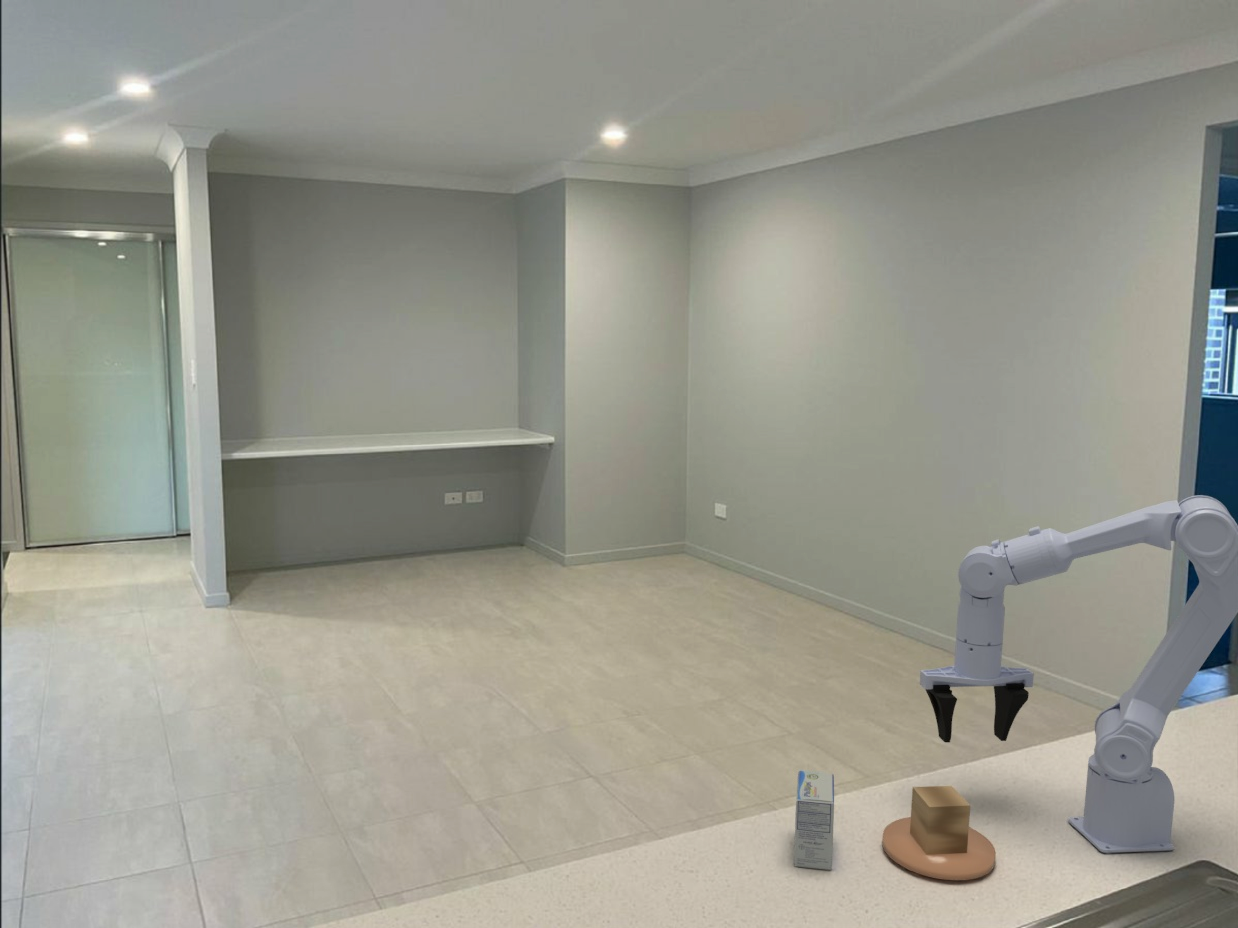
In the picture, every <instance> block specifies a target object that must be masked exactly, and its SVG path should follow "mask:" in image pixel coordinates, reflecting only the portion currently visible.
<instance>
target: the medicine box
mask: <svg viewBox="0 0 1238 928" xmlns="http://www.w3.org/2000/svg"><path fill="white" fill-rule="evenodd" d="M834 780H835V779H834V774H833V773H830V772H823V771H814V770H798V775H797V785H796V786H797V787H796V800H795V801H796V803H795V821H794V826H795V827H794V828H795V829H794V866H795V867H799V868H808V869H815V870H816V869H817V870H824V871H825V870H826V871H831V870H833V852H834V851H833V848H834V821H835V819H834V818H835V817H834V816H835V781H834Z"/></svg>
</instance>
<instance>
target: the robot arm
mask: <svg viewBox="0 0 1238 928" xmlns="http://www.w3.org/2000/svg"><path fill="white" fill-rule="evenodd" d="M1028 529H1029V530H1028V534H1024V535H1022V536H1018V537H1015V538H1010V539H1008V540H1004V541H1002V542H1001V541H1000V539H998V538H997V539H995V540H992V541H991V542H990V545H991V546H988V545H980V546H976V547H973V548H972V549H970V550H969V551H968V553H966V554H965V556H964V558H963V559H962V561H961V563H960V565H959V568H958V571H957V572H958V574H957V575H958V581H959V583H960V588H959V599H960V600H959V602H958V604H957V618H956V630H955V649H954V660H953V661H954V663H953V664H954V665H949V666H943V667H939V668H932V669H921V670H920V671H919V672H920V673H919V685H921V687H922V688H923V689H924V690H925V691H926V694H927V696H928V698H929V701H930V703H931V706H932V709H933V712H934V716H935V720H936V725H937V732H938V737H939V738H940V739H941V741H943V743H951V740H952V730H953V729H952V728H953V717H954V713H955V712H954V711H955V707H956V704H957V701H958V698H957V697H956V696H955V695H954V694H953V690H952V689H951V688H963V687H964V688H965V687H967V688H969V687H973V688H974V687H993V692H994V709H995V710H994V723H993V735H994V736H995V737H996V738H997V739H999V740H1000V741H1001V742H1006V741H1007V738H1008V736H1009V733H1010V731H1011V728H1012V725H1013V723H1014V721H1015V719H1016V717H1017V715H1018V713H1019V712H1020V710H1021V708H1022V707H1023V706H1024V705H1025V704H1026V702H1027V701H1028V700H1029V694H1030V693H1029V691H1028V690H1026V689H1025V688H1033V686H1034V672H1033V671H1031V670H1030V669H1028V668H1026V667H1007V666H1002V657H1003V656H1002V655H1003V644H1004V643H1003V641H1004V629H1005V628H1004V627H1005V617H1006V616H1005V615H1006V607H1005V605H1004V599H1005V598H1004V597H1005V588H1006V586H1015V587H1016V586H1021V585H1024V584H1027V583H1031V582H1034V581H1038V580H1042V579H1046V578H1049V577H1052V576H1057V575H1059V574H1060V575H1061V574H1064V573H1066V572H1067V571H1068V570H1069V568H1070V566H1071V564H1072V562H1073V561H1074V560H1075V559H1079V558H1084V557H1087V556H1092V555H1097V554H1101V553H1104V552H1110V551H1112V550H1118V549H1121V548H1125V547H1131V546H1134V545H1138V544H1146V545H1150V546H1154V547H1157V548H1160V549H1162V550H1166V551H1172V542H1176V544H1177V546H1178V548H1179V549H1180V550H1181V552H1182V553H1183V554H1184V556H1186V558H1187V559H1188V560H1189V561H1190V562H1191V563H1192V564H1193V568H1194V570H1195V572H1196V575H1197V577H1198V581H1199V582H1198V585H1197V586H1196V588H1195V589H1194V590H1193V592H1192V594H1191V596H1190V597H1189V599H1188V600H1187V601H1186V603H1185V604H1184V606H1183V608H1182V609H1181V611H1180V612H1179V614H1178V615H1177V617H1176V618H1175V620H1174V621H1173V623H1172V624H1171V626H1170V627H1169V630H1167V632H1166V634H1165V635H1164V637H1163V638H1162V640H1161V641H1160V643H1159V644H1158V646H1157V648H1156V649H1155V650H1154V652H1153V653H1152V655H1151V656H1150V658H1149V660H1148V661H1147V663H1146V664H1145V666H1144V667H1143V669H1142V670H1141V672H1140V673H1139V675H1138V676H1137V678H1136V679H1135V681H1134V683H1133V684H1132V685H1131V687H1130V688H1128V690H1126V691H1125V692H1122V694H1121V695H1120V697H1118V700H1117V701H1116V702H1115V703H1114V704H1112V705H1111V706H1109V707H1106V708H1104V709H1103V710H1102V711H1101V712H1100V713H1099V714H1098V715H1097V717H1096V718H1095V721H1094V733H1095V745H1094V748H1093V751H1094V752H1093V754H1091V756H1090V757H1088V762H1087V763H1088V764H1087V775H1086V785H1085V797H1084V807H1083V808H1084V809H1083V816H1075V817H1074V816H1071V817H1068V819H1067V821H1068V823H1069V824H1070V825H1072V827H1074V828H1075V829H1076V831H1078V832H1079V833H1080V834H1081V835H1082V836H1084V837H1085V839H1087V840H1088V842H1090V843H1091V844H1092V845H1093V846H1094V847H1095V848H1096V849H1097V850H1098V851H1100V852H1101V853H1104V854H1108V853H1109V854H1110V853H1133V852H1138V853H1139V852H1160V851H1161V852H1162V851H1174V850H1175V846H1174V844H1173V843H1171V837H1172V829H1173V819H1174V811H1175V810H1174V808H1175V792H1174V786H1173V784H1172V781H1171V780H1170V778H1169V776H1168V775H1167V774H1166V772H1165V771H1164V770H1162V769H1161V768H1159V767H1155V766H1152V765H1153V763H1154V749H1155V747H1156V745H1157V743H1158V742H1159V741H1160V739H1161V736H1162V734H1163V731H1164V729H1165V728H1164V727H1165V724H1166V721H1167V719H1168V716H1169V715H1170V714H1171V712H1172V710H1173V709H1174V708H1175V706H1176V704H1177V703H1178V702H1179V700H1180V699H1181V698H1182V696H1183V694H1184V693H1185V691H1186V690H1187V688H1188V687H1189V686H1190V684H1191V683H1192V681H1193V679H1194V678H1195V677H1196V675H1197V673H1198V672H1199V670H1200V669H1201V667H1203V664H1204V663H1205V662H1206V660H1207V658H1208V657H1209V656H1210V654H1211V652H1212V651H1213V650H1214V648H1215V647H1216V645H1217V644H1218V642H1220V639H1221V638H1222V636H1223V635H1224V634H1225V633H1226V630H1227V629H1228V628H1229V626H1230V624H1231V623H1232V622H1233V621H1234V619H1235V617H1236V616H1237V614H1238V523H1237V522H1236V521H1235V518H1233V516H1232V515H1231V513H1230V512H1229V510H1228V509H1227V507H1226V505H1224V504H1223V503H1222V502H1221V501H1219V500H1218V499H1217V498H1214V497H1212V496H1209V495H1203V494H1200V495H1198V494H1197V495H1192V496H1189V497H1186V498H1184V499H1182V500H1181V501H1179V502H1178V500H1176V499H1175V500H1169V501H1164V502H1161V503H1157V504H1153V505H1149V506H1146V507H1143V508H1140V509H1137V510H1133V511H1130V512H1127V513H1125V514H1122V515H1119V516H1116V517H1113V518H1109V519H1107V520H1104V521H1101V522H1098V523H1097V522H1096V523H1095V524H1091V525H1088V526H1086V527H1082V528H1080V529H1077V530H1073V531H1071V532H1067V533H1063V532H1062V531H1059V530H1056V529H1054V528H1051V527H1049V528H1046V529H1041V527H1040V526H1039V525H1037V526H1034V527H1031V528H1028Z"/></svg>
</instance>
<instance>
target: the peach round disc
mask: <svg viewBox="0 0 1238 928" xmlns="http://www.w3.org/2000/svg"><path fill="white" fill-rule="evenodd" d="M910 822H911V816H909V817H908V816H907V817H903V818H899V819H896V820H894V821H892V822H891V823H889V824H888V825H886V827H885V828H884V829H883V833H882V841H881V843H882V847H883V850H884V851H885V853H886V854H887V856H888V857H889V858H890V859H891V860H893V861H894V862H895V863H896V864H898V865H900V866H901V867H903V868H905V869H906V870H909V871H911V872H914V873H916V874H918V875H922V876H925V877H929V878H933V879H937V880H938V879H939V880H945V881H969V880H974V879H978V878H982V877H983V876H986V875H987V874H989V873H990V872H991V871H992V870H993V868H994V867H995V865H996V856H997V855H996V854H997V852H996V848H995V847H994V845H993V844H992V842H991V841H990V840H989V839H988V838H987V837H986V836H985V835H984V834H982V833H981V832H980V831H978V830H975V828H972V827H970V826H969V831H968V845H967V853H954V854H932V855H926V853H925V852H924V851H923V850H922V848H921V847H920V846H919V844H918V843H917V842H916V840H915V839H914V838H913V837H912V835H911V834H910Z"/></svg>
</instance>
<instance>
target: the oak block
mask: <svg viewBox="0 0 1238 928" xmlns="http://www.w3.org/2000/svg"><path fill="white" fill-rule="evenodd" d="M911 789H912V791H911V792H912V793H911V804H910V805H911V808H910V817H911V822H910V834H911V835H912V837H913V838H914V839H915V840H916V842H917V843H918V844H919V846H920V847H921V848H922V850H923V851H924V852H925V853H926V855H932V854H954V853H967V845H968V831H969V827H970V814H971V804H969V802H967V800H966V799H965V798H964V796H962V795H961V794H960V793H959V791H958V790H956V788H954V786H953V785H940V786H939V785H937V786H936V785H935V786H912V788H911Z"/></svg>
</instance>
